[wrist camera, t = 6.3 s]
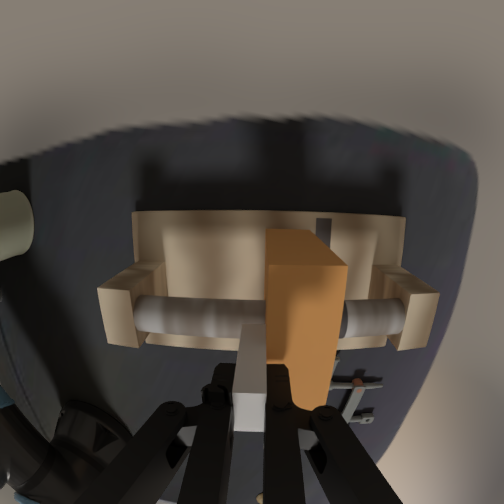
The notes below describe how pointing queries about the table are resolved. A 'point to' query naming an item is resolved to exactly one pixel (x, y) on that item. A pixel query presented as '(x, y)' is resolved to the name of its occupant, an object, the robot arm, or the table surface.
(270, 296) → the orange slotted block
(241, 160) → the table surface
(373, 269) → the pipe rig
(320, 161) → the table surface
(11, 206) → the pale green cylinder
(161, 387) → the table surface
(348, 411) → the clamp
